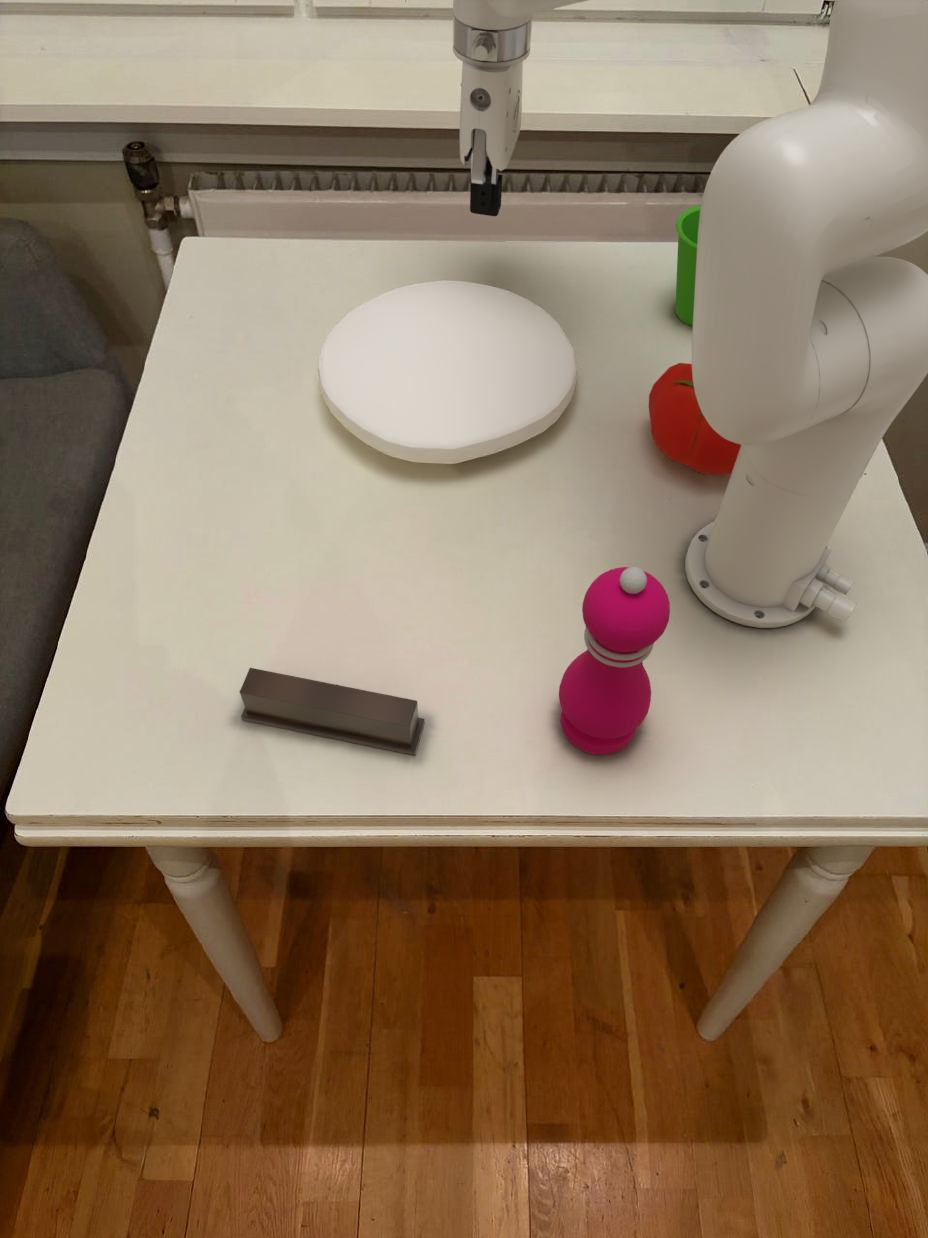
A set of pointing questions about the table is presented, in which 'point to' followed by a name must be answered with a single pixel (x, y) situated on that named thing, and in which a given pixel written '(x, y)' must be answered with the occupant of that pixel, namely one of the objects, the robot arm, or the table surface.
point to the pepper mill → (613, 660)
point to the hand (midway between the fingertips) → (485, 210)
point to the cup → (687, 263)
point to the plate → (446, 371)
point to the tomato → (687, 425)
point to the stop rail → (331, 711)
